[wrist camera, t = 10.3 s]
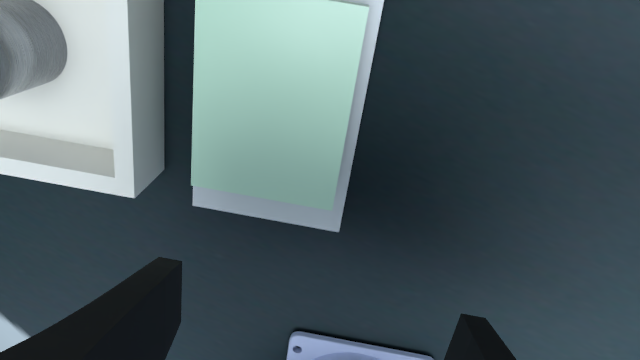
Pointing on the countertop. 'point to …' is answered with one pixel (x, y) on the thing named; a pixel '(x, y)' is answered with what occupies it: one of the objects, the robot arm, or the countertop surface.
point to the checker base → (333, 218)
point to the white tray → (94, 102)
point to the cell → (29, 47)
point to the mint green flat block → (274, 96)
